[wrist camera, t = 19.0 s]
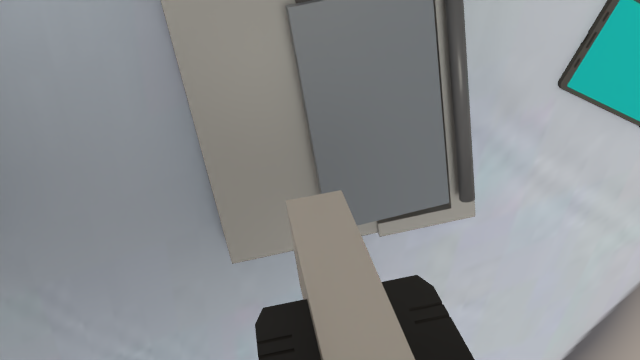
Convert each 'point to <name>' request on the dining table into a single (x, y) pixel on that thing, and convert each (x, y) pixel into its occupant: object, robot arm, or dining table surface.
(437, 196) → the cover
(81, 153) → the dining table surface
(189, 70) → the hinged lid box
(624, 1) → the smartphone
